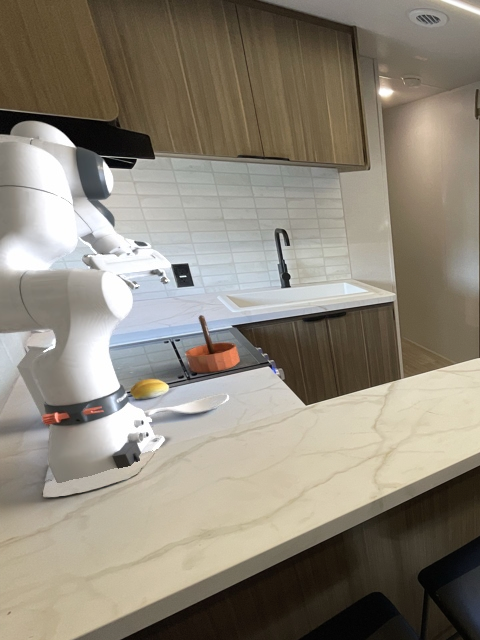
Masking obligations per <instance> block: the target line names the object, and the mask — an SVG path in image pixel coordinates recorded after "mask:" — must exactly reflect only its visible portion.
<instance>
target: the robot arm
mask: <svg viewBox="0 0 480 640" xmlns="http://www.w3.org/2000/svg"><path fill="white" fill-rule="evenodd" d="M10 130H11V131H10V134H2V133H1V134H0V334H14V333H16V334H17V333H26V332H27V333H28V332H38V331H52V332H53V334H54V337H55V345H53V346H50V348H49V349H47V350H45V351H44V352H42V353H41V354H39V355H38V356H37V357H36V358H35V359H34V360H33V362H32V364H31V368H30V371H31V374H32V376H33V378H34V380H35V382H36V384H37V386H38V388H39V390H40V392H41V394H42V396H43V398H44V400H45V403H44V407H45V414H44V415H43V416H41V420H42V422H43V424H44V425H45V426H48V425H49V426H48V429H49V430H48V447H47V464H48V466H47V470H46V475H45V478H44V482H45V481H46V480H48V479H52V478H55V480H56V482H57V483H62V482H66V481H69V480H73V479H79V478H83V477H88V476H92V475H95V474H98V473H101V472H104V471H107V470H110V469H114V468H118V469H119V468H123V467H128V466H131V465H132V464H133V463H134V462H138V461H140V457H139V456H140V454H142V453H145V452H148V451H152V450H153V451H155V450H156V449H158V450H159V449H160V448H161V446H162V445H163V444H164V442H165V441H166V439H165V437H164V435H163V434H154V431H153V429H152V427H151V425H150V422H151V423H152V418H151V417H146V416H145V415H144V413H143V411H144V410H143V409H142V408H140V407H137V406H135V405H133V404H131V403H130V402H129V401H130V398H129V396H128V392H127V390H126V389H125V387H124V386H123V384H121V383H120V382H119V379H118V377H117V374H116V371H115V368H114V365H113V362H112V358H111V353H110V342H111V337H112V335H113V333H114V332H115V329H116V328H117V327H118V325H119V324H120V323H121V322H122V321H123V320H125V319H126V318H127V317H128V315H129V314H130V313H131V311H132V308H133V304H134V297H133V293H132V291H131V290H133V291H134V290H138V289H139V288H140V285H139V283H138V282H137V281H132V280H131V279H138V278H144V277H150V276H151V277H152V276H158V277H160V279H159V282H160V283H162V285H168V284H169V283H170V282H171V280H170V279H169V278H168V277H167V274H169V273H170V270H171V267H172V264H171V262H170V261H169V260H168V259H167V258H166V257H165V256H164V255H163V254H162V253H160V252H159V251H158V250H155V249H153V248H152V245H151V244H150V243H149V242H147V241H141V240H136V239H130V238H127V237H124V236H123V235H121V234H120V233H118V232H117V231H116V230H115V224H116V222H115V221H116V219H115V216H114V214H113V213H112V212H111V211H110V210H109V209H108V208H107V207H106V206H105V205H104V204H103V203H102V202H101V201H105V200H108V198H110V196H111V195H112V191H113V188H114V183H115V182H114V181H115V180H114V176H113V173H112V171H111V169H110V167H109V166H108V164H107V163H106V160H105V159H104V158H103V157H101V156H100V155H99V154H97V153H96V152H94V151H93V150H90V149H87V148H84V147H80V146H76V145H75V144H74V143H73V142H72V141H71V140H70V138H69V137H68V136H67V135H66V134H65V133H64V132H62V131H61V130H60V129H58V128H57V127H55V126H53V125H51V124H48V123H46V122H43V121H37V120H25V121H21V122H18V123H17V124H15V125H14V126H13V127H12V128H11V129H10ZM79 240H80V241H81V242H83V244H86V245H87V246H89V247H90V249H91V250H92V252H93V253H91V254H89V253H87V254H83V256H81V258H80V259H81V262H82V263H83V264H84V265H85V266H87V267H88V268H85V267H84V268H83V267H69V268H67V267H65V268H51V267H52V265H54V264H55V263H56V262H57V261H59V260H61V259H63V258H65V257H66V256H69V255H70V254H72V253H73V252H74V251H75V250H76V247H77V245H78V241H79ZM153 451H152V452H153ZM50 481H52V480H50ZM42 491H43V489H42ZM42 491H41V492H42Z"/></svg>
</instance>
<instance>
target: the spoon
mask: <svg viewBox="0 0 480 640" xmlns="http://www.w3.org/2000/svg"><path fill="white" fill-rule="evenodd" d="M229 399H230V396H229V395H228V393H218V394H217V393H216V394H213V395H209V396H205V397H202V398H199V399H196V400H191V401H189V402H185V403H181V404H178V405H174V406H167V407H157V408H149V409H146V410H142V411H143V413H144V415H145V417H146V416H147V417H148V416H152V415H154V414H157V413H177V414H191V415H192V414H199V413H200V414H201V413H205V412H208V411H212V410H214V409H216V408H219V407H220V406H222V405H224V404H225V403H227V402H228V400H229Z"/></svg>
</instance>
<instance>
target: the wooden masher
mask: <svg viewBox="0 0 480 640" xmlns="http://www.w3.org/2000/svg"><path fill="white" fill-rule="evenodd" d="M198 321H199V324H200V328H201V332H202V334H203V338H204V342H205V345H207V348H208V351H209V355H211V354H215V351H214V348H213V342H212V338H211V335H210V331H209V328H208V323H207V321H206V318H205V316H204V315H202V314H200V315H198Z"/></svg>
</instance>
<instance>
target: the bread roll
mask: <svg viewBox="0 0 480 640" xmlns="http://www.w3.org/2000/svg"><path fill="white" fill-rule="evenodd" d="M169 390H170V386H169V385H168V384H167V383H166V382H165V381H162V380H161V379H157V378H145V379H142V380H139V381H137V382H136V383H134V384H133V385H132V387H131V388H130V392H129V393H130V394H131V396H132V397H133V399H135V400H137V401H142V400H143V401H144V400H150V399H154V398H158V397H160V396H163V395H164V394H166V393H168V391H169Z"/></svg>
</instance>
